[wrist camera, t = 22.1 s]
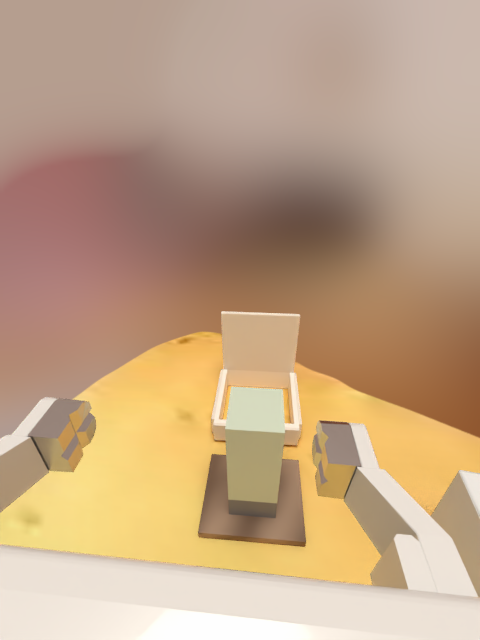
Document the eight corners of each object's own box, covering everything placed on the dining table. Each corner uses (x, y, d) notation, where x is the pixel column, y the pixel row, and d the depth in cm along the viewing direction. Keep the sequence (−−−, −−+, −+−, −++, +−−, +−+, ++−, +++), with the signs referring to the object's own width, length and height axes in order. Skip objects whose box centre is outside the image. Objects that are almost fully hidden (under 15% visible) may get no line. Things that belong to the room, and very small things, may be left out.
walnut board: (199, 537, 32) (198, 532, 32) (212, 458, 40) (211, 454, 39) (304, 546, 31) (305, 541, 31) (297, 464, 39) (298, 460, 38)
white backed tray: (211, 442, 42) (204, 363, 34) (222, 382, 52) (219, 311, 44) (299, 447, 41) (312, 368, 34) (293, 386, 51) (302, 314, 43)
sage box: (229, 514, 33) (225, 429, 26) (233, 470, 37) (231, 386, 30) (275, 518, 33) (285, 432, 25) (274, 473, 37) (282, 389, 29)
